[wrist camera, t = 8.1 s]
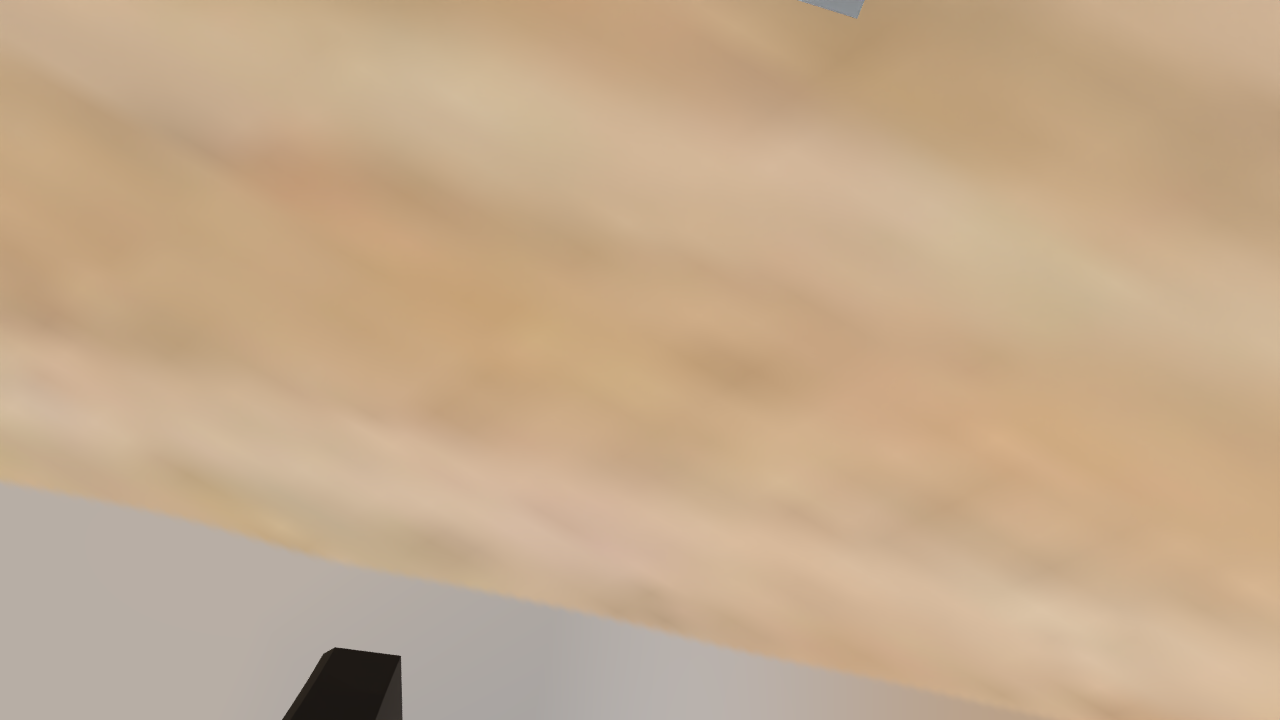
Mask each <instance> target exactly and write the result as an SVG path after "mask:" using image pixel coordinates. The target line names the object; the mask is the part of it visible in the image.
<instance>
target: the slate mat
mask: <svg viewBox="0 0 1280 720" xmlns="http://www.w3.org/2000/svg"><path fill="white" fill-rule="evenodd" d="M799 1H802V2H805V3H809V4H812V5H815V6H818V7H821V8H825V9H828V10H831V11H834V12H837V13H841V14H844V15H847V16H850V17H853V18H856V19H857V18H858V15H859V13H860V10H861V8H862V5H863V3H864V0H799Z"/></svg>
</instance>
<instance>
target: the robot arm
mask: <svg viewBox="0 0 1280 720" xmlns="http://www.w3.org/2000/svg"><path fill="white" fill-rule="evenodd" d="M401 685H402V684H401V656H397V655H390V654H382V653H374V652H366V651H358V650H351V649H343V648H336V647H335V648H333V649H331V650H330V651H328V652H326V653H324V654H323V656H322V657H321V659H320V661H319V662H318V664H317V666H316V667H315V669H314V671H313V672H312V674H311V676H310V678H309V679H308V681H307V682H306V684H305V685H304V687H303V688H302V690H301V692H300V693H299V695H298V696H297V698H296V700H295V701H294V703H293V704H292V706H291V707H290V709H289V710H288V712H287V713H286V715H285V716H284V718H283V719H282V720H402V686H401Z"/></svg>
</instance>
